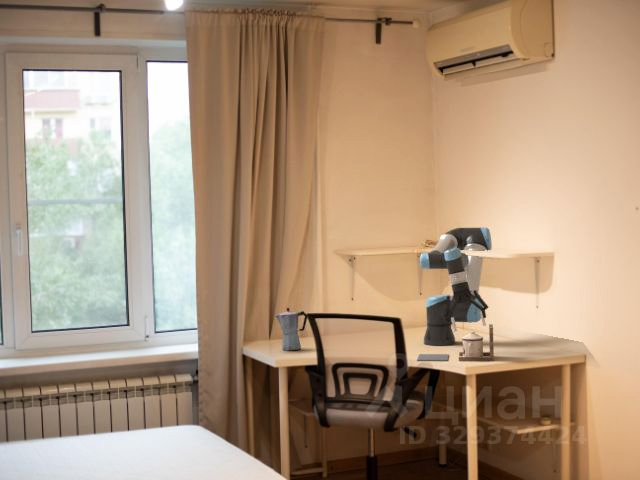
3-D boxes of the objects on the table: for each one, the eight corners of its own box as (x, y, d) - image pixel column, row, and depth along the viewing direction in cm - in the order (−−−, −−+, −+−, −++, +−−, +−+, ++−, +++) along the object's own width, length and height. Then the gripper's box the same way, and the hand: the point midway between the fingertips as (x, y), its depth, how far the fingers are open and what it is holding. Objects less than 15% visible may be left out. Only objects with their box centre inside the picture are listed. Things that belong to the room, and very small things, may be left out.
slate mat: (419, 355, 383) (419, 354, 383) (448, 355, 381) (448, 354, 381) (417, 360, 370) (417, 359, 370) (447, 361, 367) (447, 359, 367)
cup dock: (459, 355, 380) (458, 324, 379) (493, 355, 377) (492, 324, 376) (458, 360, 367) (457, 328, 366) (493, 361, 364) (493, 328, 364)
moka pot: (275, 348, 414) (274, 307, 413) (307, 347, 415) (306, 305, 414) (276, 351, 404) (275, 309, 403) (309, 350, 405) (307, 308, 405)
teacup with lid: (464, 355, 379) (464, 329, 378) (485, 356, 375) (484, 330, 375) (458, 360, 368) (458, 333, 367) (480, 361, 364) (479, 334, 364)
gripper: (431, 288, 389) (441, 334, 387) (484, 277, 379) (495, 324, 378) (435, 287, 396) (445, 332, 394) (487, 276, 386) (498, 322, 385)
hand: (470, 328), depth 386 cm, fingers open, 13 cm apart
